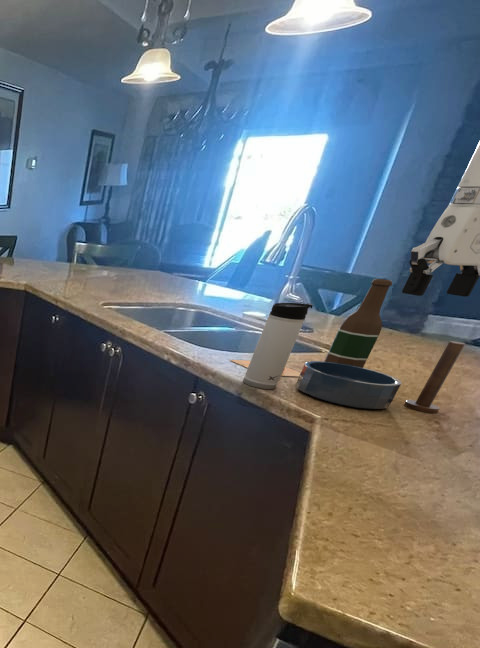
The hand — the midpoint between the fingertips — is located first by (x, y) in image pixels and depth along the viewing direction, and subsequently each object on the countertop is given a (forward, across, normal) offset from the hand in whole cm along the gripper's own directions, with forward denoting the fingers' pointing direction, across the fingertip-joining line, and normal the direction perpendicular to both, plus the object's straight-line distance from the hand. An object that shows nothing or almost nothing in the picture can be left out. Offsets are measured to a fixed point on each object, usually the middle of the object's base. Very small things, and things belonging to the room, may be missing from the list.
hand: (434, 294), depth 94 cm
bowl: (+25, +1, +8) cm, 26 cm away
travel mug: (+25, -12, +15) cm, 32 cm away
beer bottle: (+25, +20, +25) cm, 41 cm away
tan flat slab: (+25, +2, +27) cm, 37 cm away
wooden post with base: (+25, +13, +2) cm, 28 cm away
